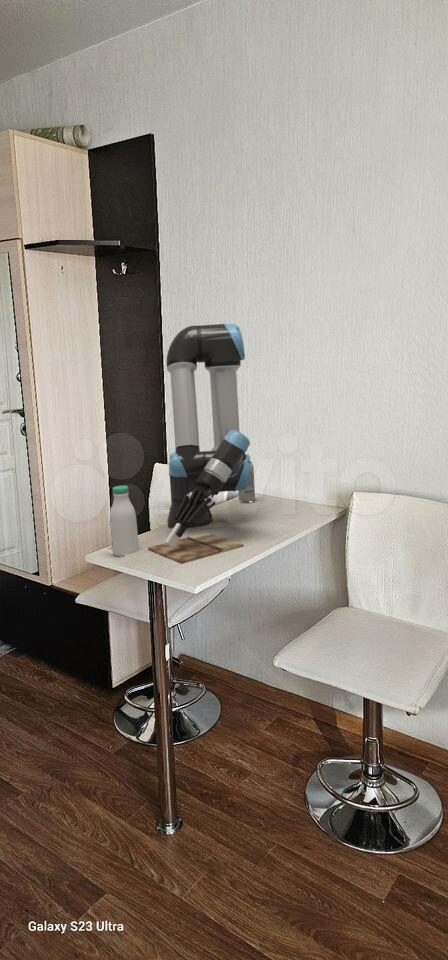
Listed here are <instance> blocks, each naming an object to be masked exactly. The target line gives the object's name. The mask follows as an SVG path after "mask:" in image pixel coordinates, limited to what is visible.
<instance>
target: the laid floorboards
mask: <svg viewBox="0 0 448 960" xmlns="http://www.w3.org/2000/svg"><path fill="white" fill-rule="evenodd" d="M186 539H189V540H192V541H195V542H198V543H200V544H203V545H206V546H209V547H212V548H214V549H217V550H220V554H221V553H222V554H223V553H225V552H228V551H233V550H236V549H240V548H243V547H245V544H243V543H241V542H240V543H239V542H237V541H234V540H231V539H228V538H225V537H221V536H218V535H216V534H212V533H209V532H207V533H206V532H205V533H202V534H199V535H194V536H186Z"/></svg>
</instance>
